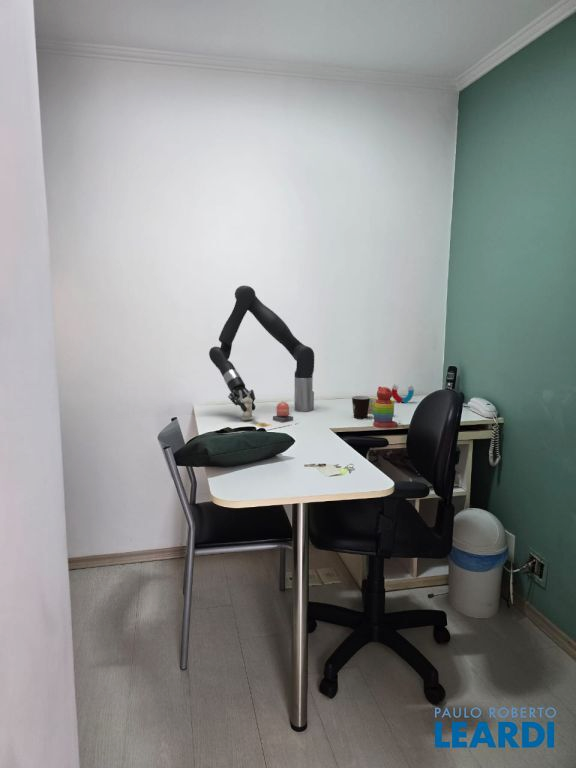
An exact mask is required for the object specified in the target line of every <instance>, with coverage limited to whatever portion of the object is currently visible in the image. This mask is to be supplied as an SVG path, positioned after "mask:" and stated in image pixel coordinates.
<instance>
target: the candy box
mask: <svg viewBox="0 0 576 768" xmlns="http://www.w3.org/2000/svg"><path fill="white" fill-rule="evenodd" d="M369 397H370V396H369ZM377 399H378V397H370V401H369V408H368V415H369V414H370V415H373V407H374V404H375V402H376V400H377ZM390 400H391V401H392V403H393V408H394V409H395V399H390ZM394 416H395V415H393V417H394Z"/></svg>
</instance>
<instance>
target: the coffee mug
mask: <svg viewBox="0 0 576 768" xmlns="http://www.w3.org/2000/svg"><path fill="white" fill-rule="evenodd" d="M351 400H352V401H351V402H352V412H353V418H354V419H355V420H366V419H368V415H369V414H368V408H369V401H370V396H366V395H356V396H355V395H354V396H351Z"/></svg>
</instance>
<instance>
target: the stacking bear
mask: <svg viewBox="0 0 576 768" xmlns="http://www.w3.org/2000/svg"><path fill="white" fill-rule="evenodd" d="M376 396H377V397H376V398H378V399H377V400H376V402H375V404H374V407H373V414H372V415H373V420H374V421H373V423H372V425H373V426H374V427H376V428H382V429H383V428H384V429H386V428H389V429H390V428H396V427H399V424H398V422H397V421H395V420H393V417H394V416H395V415H394V414H395V407H394V408H393V403H392V401H391V400H392V399H391V398H393V396H392V389H390V388H389V387H386V386H378V387H377V392H376ZM393 415H394V416H393Z"/></svg>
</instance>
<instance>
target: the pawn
mask: <svg viewBox="0 0 576 768" xmlns="http://www.w3.org/2000/svg"><path fill="white" fill-rule="evenodd" d="M242 400H243V403H244V404H245V406H246V408H247V411H246V412H244V411H243V410H242V415H241V420H242V419H244V420H250V419H253V420H254V418H255V417H254V416H255V415H253V410H252V400H251V398H249V397H246V398H244V399H242Z"/></svg>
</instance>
